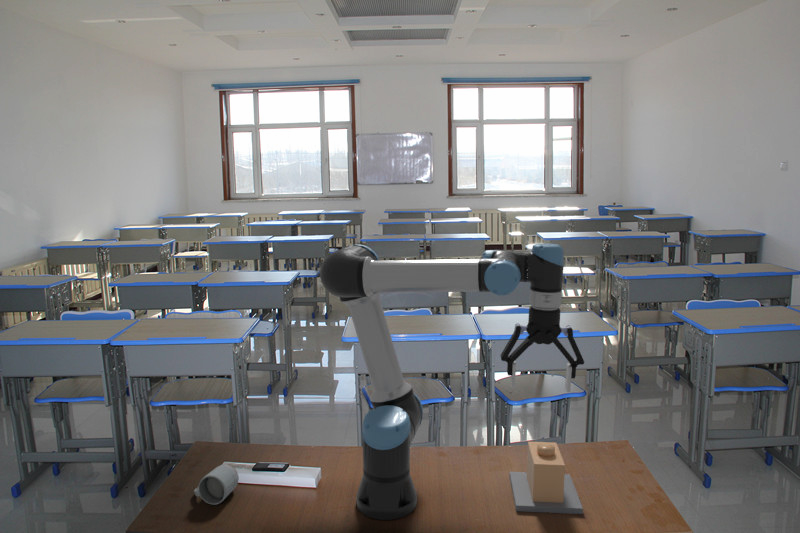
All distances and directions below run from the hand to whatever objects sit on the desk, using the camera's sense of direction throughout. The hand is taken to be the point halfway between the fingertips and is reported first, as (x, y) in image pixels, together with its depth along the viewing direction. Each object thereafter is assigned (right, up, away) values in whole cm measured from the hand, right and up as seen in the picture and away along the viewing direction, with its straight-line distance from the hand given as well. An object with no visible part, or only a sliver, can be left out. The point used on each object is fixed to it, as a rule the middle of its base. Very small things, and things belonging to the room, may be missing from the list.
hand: (540, 388), depth 145 cm
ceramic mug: (-83, -28, +3) cm, 88 cm away
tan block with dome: (+2, -26, +3) cm, 27 cm away
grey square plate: (+2, -28, +3) cm, 28 cm away
